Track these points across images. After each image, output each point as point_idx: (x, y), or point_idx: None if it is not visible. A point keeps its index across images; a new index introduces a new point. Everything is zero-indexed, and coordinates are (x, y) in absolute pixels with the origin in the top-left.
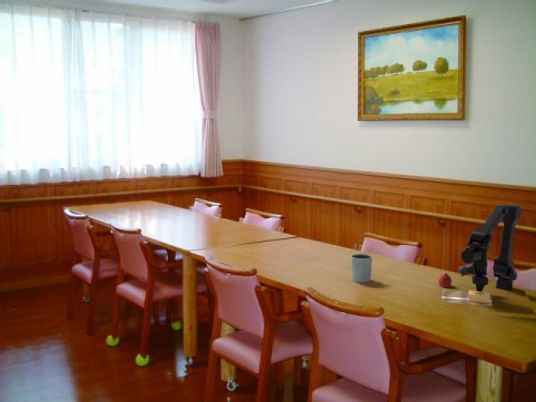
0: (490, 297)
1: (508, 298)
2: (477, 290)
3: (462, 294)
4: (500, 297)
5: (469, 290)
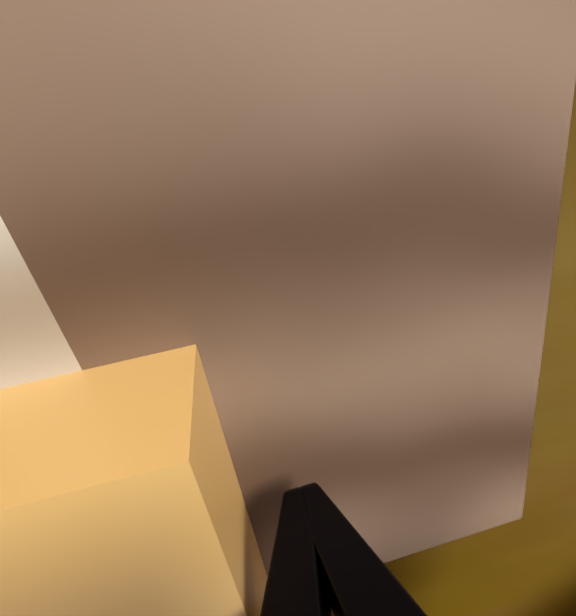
0: None
1: (484, 596)
2: (264, 613)
3: (327, 180)
4: (499, 549)
5: (178, 475)
